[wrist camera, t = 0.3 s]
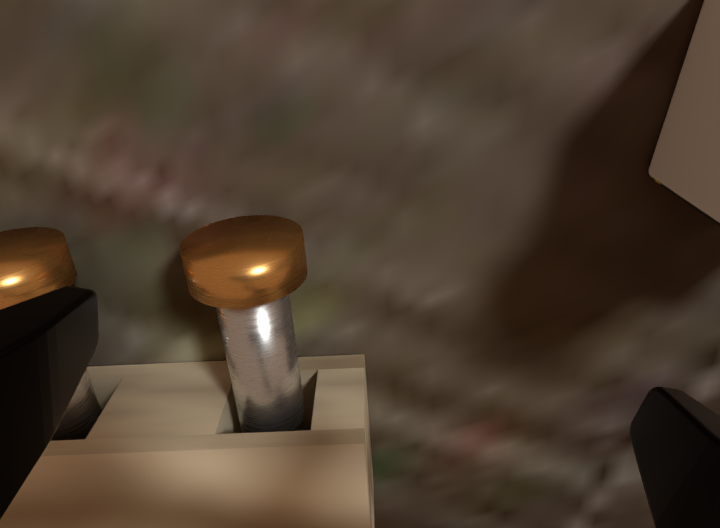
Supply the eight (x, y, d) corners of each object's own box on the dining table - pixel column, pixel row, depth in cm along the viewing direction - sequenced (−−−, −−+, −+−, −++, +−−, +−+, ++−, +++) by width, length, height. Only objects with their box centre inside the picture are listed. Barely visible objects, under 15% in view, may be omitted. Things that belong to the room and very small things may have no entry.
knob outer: (144, 415, 27) (106, 489, 23) (55, 418, 27) (2, 493, 23) (84, 224, 22) (25, 276, 18) (-22, 230, 22) (-105, 283, 18)
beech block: (373, 487, 30) (375, 588, 25) (65, 498, 30) (6, 600, 25) (364, 354, 26) (364, 443, 21) (9, 370, 26) (-74, 460, 21)
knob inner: (329, 407, 26) (323, 481, 22) (238, 411, 27) (216, 485, 23) (308, 212, 22) (295, 262, 18) (198, 218, 22) (162, 269, 18)
